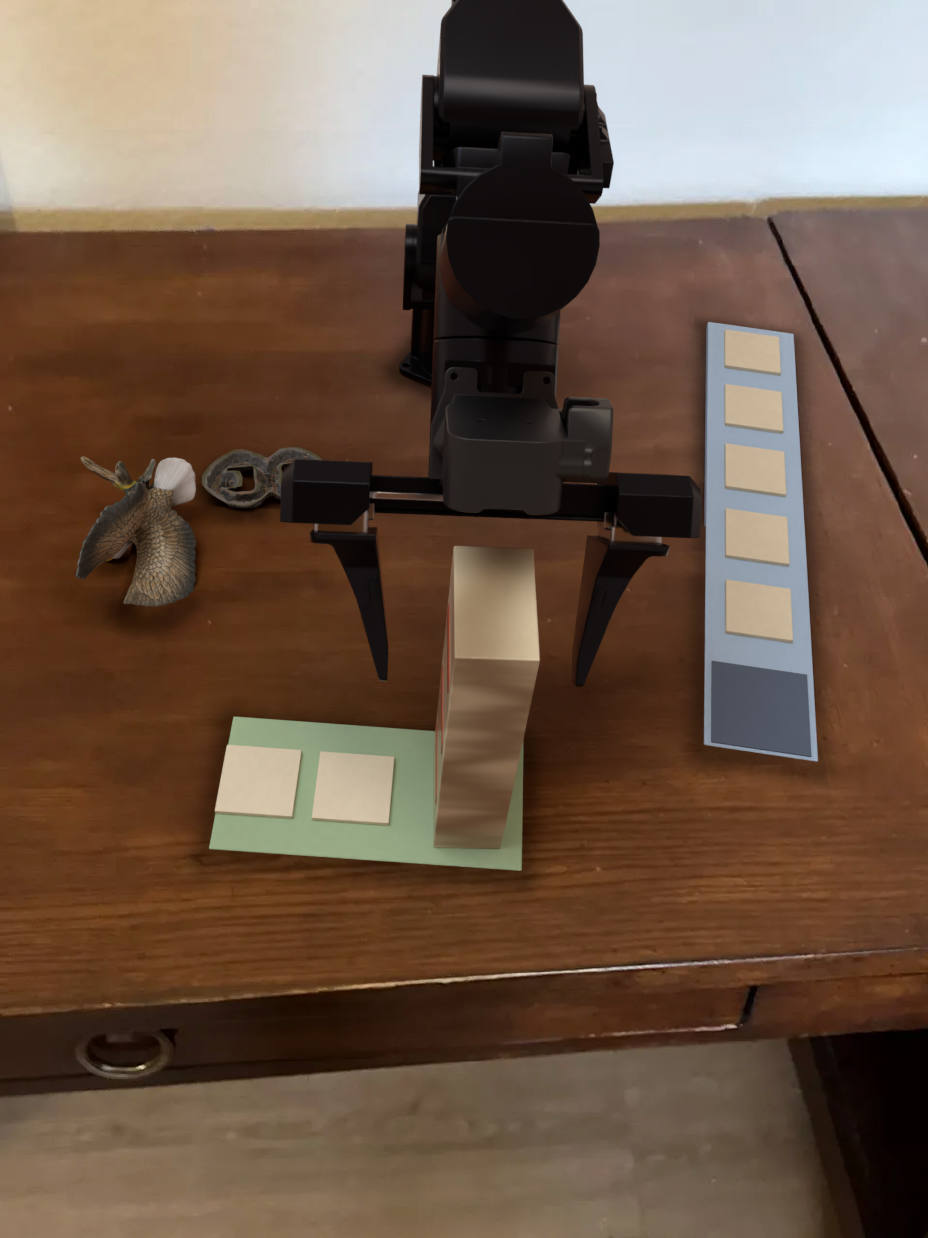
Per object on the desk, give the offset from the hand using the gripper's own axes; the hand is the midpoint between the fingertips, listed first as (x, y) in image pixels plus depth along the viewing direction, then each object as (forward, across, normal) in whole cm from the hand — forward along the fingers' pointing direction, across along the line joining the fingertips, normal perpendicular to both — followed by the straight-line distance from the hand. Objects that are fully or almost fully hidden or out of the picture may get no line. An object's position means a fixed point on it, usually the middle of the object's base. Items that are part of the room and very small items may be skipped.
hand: (480, 682), depth 57 cm
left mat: (+8, -5, +7) cm, 11 cm away
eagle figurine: (-3, -19, +18) cm, 27 cm away
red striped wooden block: (+7, 0, +6) cm, 10 cm away
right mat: (-8, +19, +22) cm, 30 cm away
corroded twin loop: (-8, -12, +23) cm, 27 cm away
